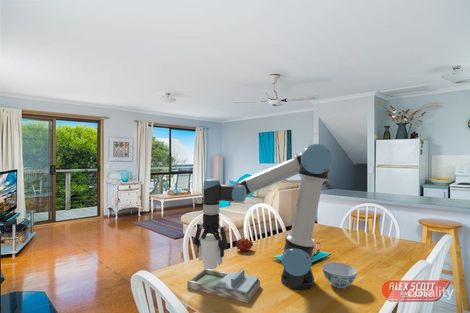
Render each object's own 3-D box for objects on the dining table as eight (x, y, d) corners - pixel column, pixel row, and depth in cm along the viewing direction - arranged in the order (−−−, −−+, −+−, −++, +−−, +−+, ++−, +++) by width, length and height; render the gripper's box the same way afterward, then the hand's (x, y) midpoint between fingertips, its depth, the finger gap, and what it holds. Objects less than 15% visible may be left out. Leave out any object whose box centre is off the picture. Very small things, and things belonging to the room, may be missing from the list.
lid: (258, 278, 123) (258, 270, 123) (246, 294, 110) (246, 284, 110) (230, 273, 129) (230, 265, 129) (215, 286, 115) (215, 277, 115)
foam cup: (198, 263, 128) (198, 235, 128) (217, 261, 131) (217, 234, 131) (203, 271, 119) (203, 242, 119) (223, 269, 122) (223, 240, 122)
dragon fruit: (233, 253, 167) (251, 254, 171) (238, 249, 161) (257, 250, 165) (232, 240, 172) (249, 241, 176) (237, 235, 166) (255, 236, 170)
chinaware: (328, 275, 136) (329, 259, 135) (361, 284, 126) (361, 267, 126) (316, 286, 124) (317, 269, 124) (351, 297, 114) (351, 279, 114)
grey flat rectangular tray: (260, 286, 123) (260, 279, 123) (248, 302, 109) (248, 295, 109) (204, 274, 135) (204, 268, 135) (187, 287, 121) (187, 280, 121)
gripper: (236, 214, 123) (235, 263, 124) (194, 209, 132) (194, 255, 133) (229, 217, 117) (228, 269, 117) (186, 212, 126) (185, 260, 126)
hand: (210, 261), depth 125 cm, fingers closed on foam cup, 9 cm apart
